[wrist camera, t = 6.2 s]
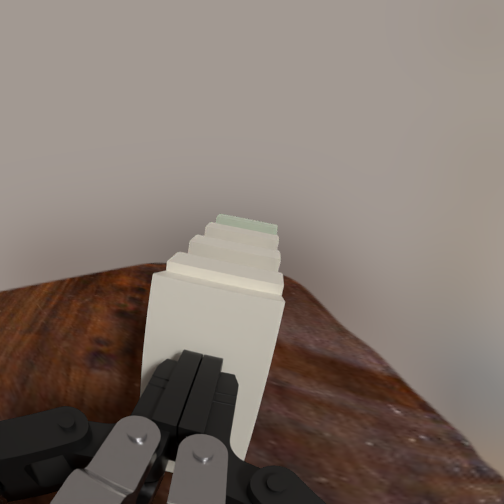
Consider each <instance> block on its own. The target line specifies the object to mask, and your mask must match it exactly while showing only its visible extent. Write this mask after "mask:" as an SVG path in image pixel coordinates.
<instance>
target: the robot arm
mask: <svg viewBox="0 0 504 504" xmlns="http://www.w3.org/2000/svg"><path fill="white" fill-rule="evenodd" d="M222 365H223V358H219V357H214V356H210V355H206V354H204V356H203V354H201V353H197V352H193V351H189V350H185V349H184V350H183V352H182V354H181V356H180V358H179V360H178V361H175V360H171V359H166V360H165V361H163V362H162V363H160V364H159V365H158V366H157V368H156V369H155V371H154V373H153V375H152V377H151V379H150V380H149V382H148V385H147V386H146V388H145V390H144V392H143V393H142V395H141V397H140V399H139V401H138V403H137V405H136V407H135V408H134V410H133V412H132V414H131V415H130V416H128V417H125V418H123V419H121V420H120V421H118V422H117V423H114V424H106V423H98V422H92V421H88V420H87V418H86V416H85V415H84V414H83V413H82V412H81V411H80V410H78V409H76V408H74V407H69V406H63V407H58V408H54V409H51V410H47V411H43V412H39V413H35V414H31V415H26V416H22V417H17V418H13V419H8V420H3V421H0V504H8V502H10V501H16V500H21V499H26V498H31V497H36V496H40V495H44V494H48V493H52V492H56V491H58V492H57V494H56V495H55V497H54V498H53V500H52V501H51V503H50V504H152V502H153V500H154V498H155V495H156V493H157V491H158V489H159V486H160V484H161V482H162V480H163V477H164V472H165V470H166V467H167V464H168V461H169V460H171V461H174V462H175V466H174V471H173V476H172V481H171V486H170V491H169V496H168V501H167V504H326V503H325V502H324V501H323V500H321V499H320V498H319V497H318V496H317V495H316V494H315V493H314V492H313V491H312V490H311V489H310V488H309V487H308V486H307V485H306V484H305V483H304V482H303V481H302V480H301V479H300V478H299V477H298V476H297V475H296V474H295V473H294V472H292V471H291V470H289V469H287V468H285V467H281V466H267V467H263V468H259V467H256V466H254V465H251V464H249V463H247V462H245V461H243V460H241V459H240V458H239V457H237V456H236V454H235V453H234V452H233V450H232V448H231V445H230V436H231V430H232V424H233V418H234V412H235V406H236V400H237V394H238V387H239V384H238V382H237V379H236V377H235V375H234V374H229V373H225V372H221V371H222Z"/></svg>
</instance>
